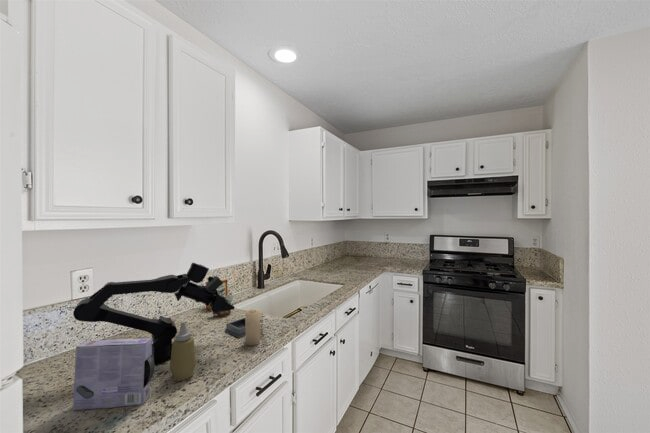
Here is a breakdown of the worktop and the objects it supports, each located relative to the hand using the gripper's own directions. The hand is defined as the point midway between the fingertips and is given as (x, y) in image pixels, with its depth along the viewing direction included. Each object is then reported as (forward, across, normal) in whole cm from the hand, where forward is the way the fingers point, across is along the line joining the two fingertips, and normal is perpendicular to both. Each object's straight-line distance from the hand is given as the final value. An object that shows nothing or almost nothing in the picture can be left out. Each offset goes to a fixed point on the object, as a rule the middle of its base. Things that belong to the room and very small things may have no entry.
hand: (230, 305), depth 118 cm
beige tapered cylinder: (+14, -5, +10) cm, 18 cm away
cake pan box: (-26, -20, +32) cm, 46 cm away
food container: (+13, +33, +11) cm, 37 cm away
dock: (+14, +8, +10) cm, 19 cm away
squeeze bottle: (-10, -16, +24) cm, 31 cm away
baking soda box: (+13, +48, +11) cm, 50 cm away
